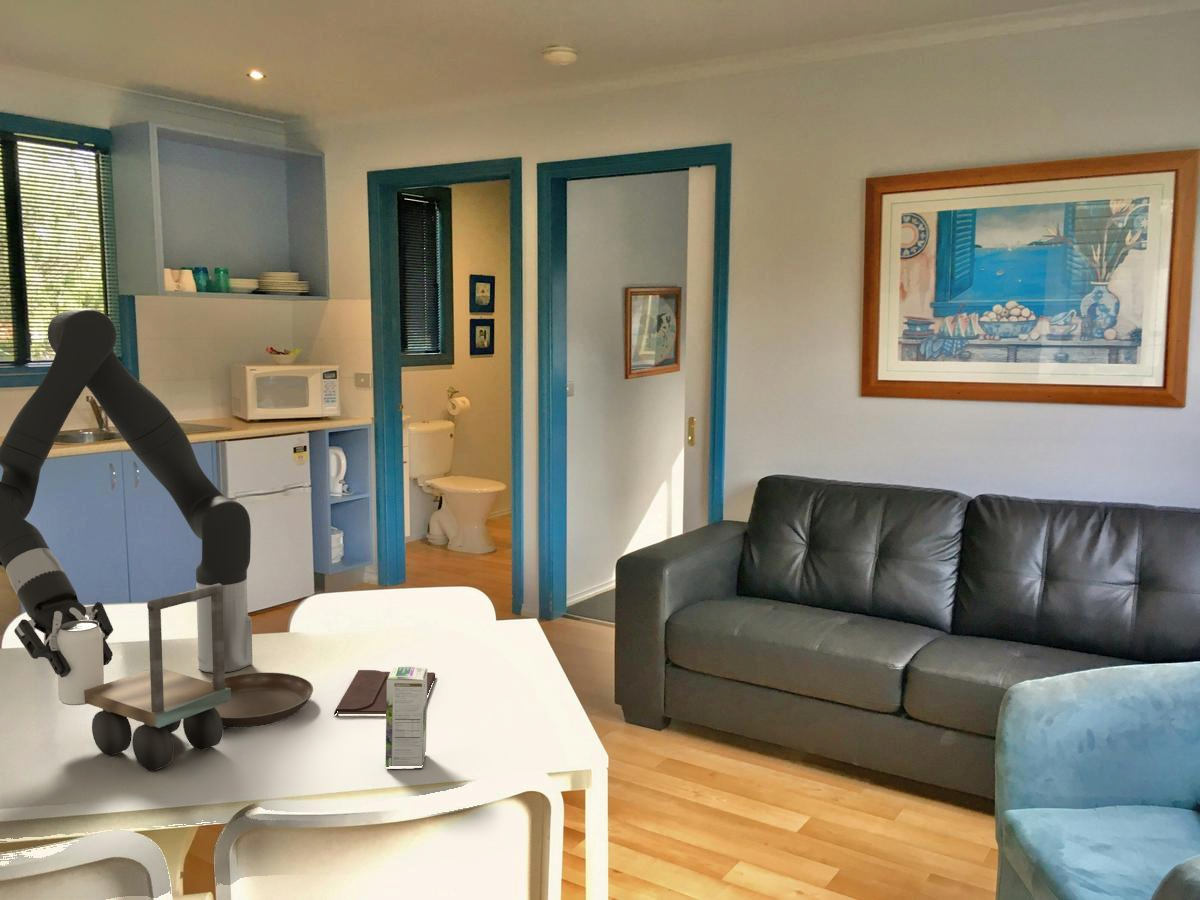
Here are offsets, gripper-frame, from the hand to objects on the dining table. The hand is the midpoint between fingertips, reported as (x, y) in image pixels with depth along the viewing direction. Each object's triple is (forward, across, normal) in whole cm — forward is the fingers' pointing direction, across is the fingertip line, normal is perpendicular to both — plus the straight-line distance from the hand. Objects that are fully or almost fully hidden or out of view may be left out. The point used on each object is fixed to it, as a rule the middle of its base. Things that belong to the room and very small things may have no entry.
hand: (87, 667), depth 162 cm
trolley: (+16, +5, +1) cm, 17 cm away
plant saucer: (+16, +24, +3) cm, 29 cm away
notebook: (+26, +42, -8) cm, 50 cm away
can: (+3, 0, +5) cm, 6 cm away
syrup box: (+41, +23, -24) cm, 53 cm away
